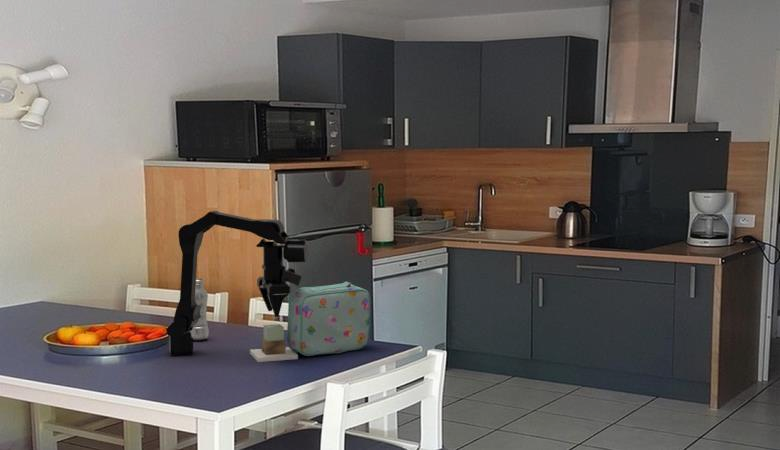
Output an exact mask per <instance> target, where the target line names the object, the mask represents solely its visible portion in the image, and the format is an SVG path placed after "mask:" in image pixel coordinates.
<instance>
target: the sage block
mask: <svg viewBox="0 0 780 450" xmlns="http://www.w3.org/2000/svg"><path fill="white" fill-rule="evenodd" d="M262 328H263V338H264V339H265V340H266V341H280V340H285V339H284V338H285V335H284V334H285V333H284V331H285V328H284V326H283V325H282V324H280V323H276V324H274V323H273V324H264V325H263V327H262Z"/></svg>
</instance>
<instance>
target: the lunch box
mask: <svg viewBox="0 0 780 450" xmlns="http://www.w3.org/2000/svg"><path fill="white" fill-rule="evenodd" d="M371 298H372V297H371V295H370V292H369V291H368V289H364V288H362V287H361V286H360V287H359V286H357V285H354V284H352V283H351V282H349V281H344V282H342V283H335V284H330V285H321V286H320V285H319V286H318V285H317V286H305V287H304V286H303V287H300V288H297V289H295V290H293V291H292V293H290V295H289V297H288V304H287V305H288V308H287V309H288V310H287V329H286V341H287V344H288V347H289V348H290V349H291V350H293V351H294V352H298V353H300V354H301V355H303V356H306V357H311V356H316V355H317V356H319V355H327V354H330V355H331V354H341V353H344V352H349V351H350V352H351V351H357V350H360V349H363V348H364V347H365V346H366V345H367V344H368V341H369V339H370V331H371V310H372V309H371V305H372V303H371V302H372V300H371Z"/></svg>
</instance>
